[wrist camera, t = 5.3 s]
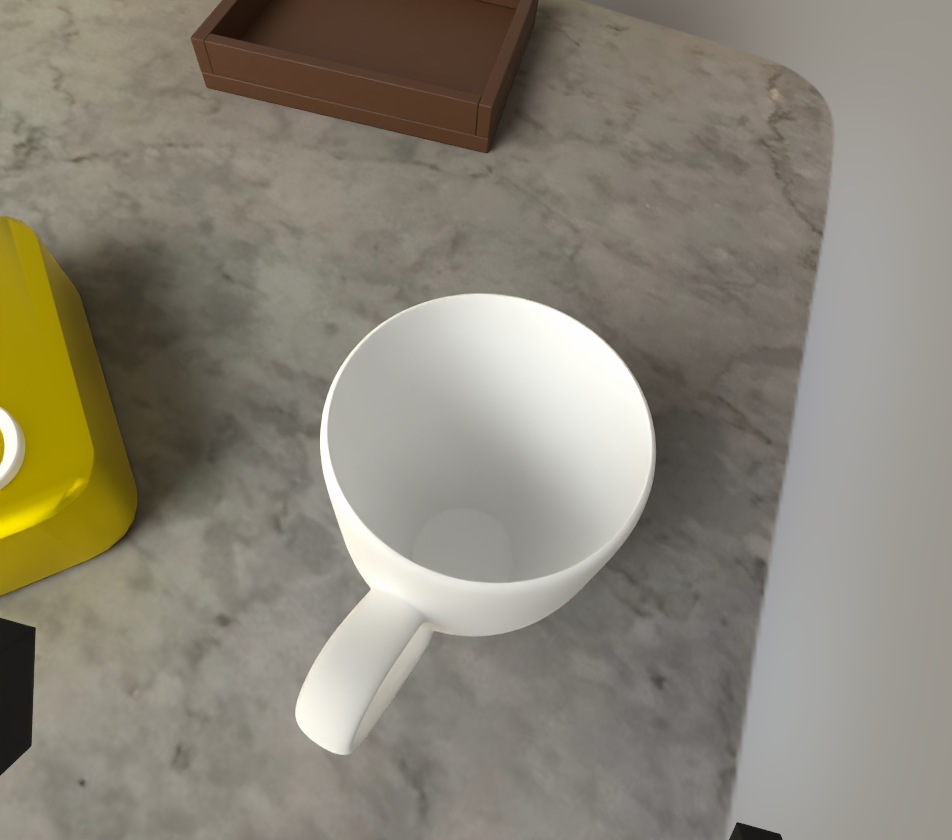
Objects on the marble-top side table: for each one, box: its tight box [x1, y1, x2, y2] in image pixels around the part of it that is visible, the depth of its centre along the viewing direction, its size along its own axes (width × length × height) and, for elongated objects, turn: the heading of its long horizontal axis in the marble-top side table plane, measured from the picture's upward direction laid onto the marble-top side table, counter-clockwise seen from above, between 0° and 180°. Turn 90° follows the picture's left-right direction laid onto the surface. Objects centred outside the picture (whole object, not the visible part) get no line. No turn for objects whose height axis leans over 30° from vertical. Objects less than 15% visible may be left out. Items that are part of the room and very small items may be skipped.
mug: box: [296, 293, 656, 755], centre depth 19 cm, size 12×8×11 cm
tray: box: [191, 0, 538, 153], centre depth 39 cm, size 18×15×3 cm
